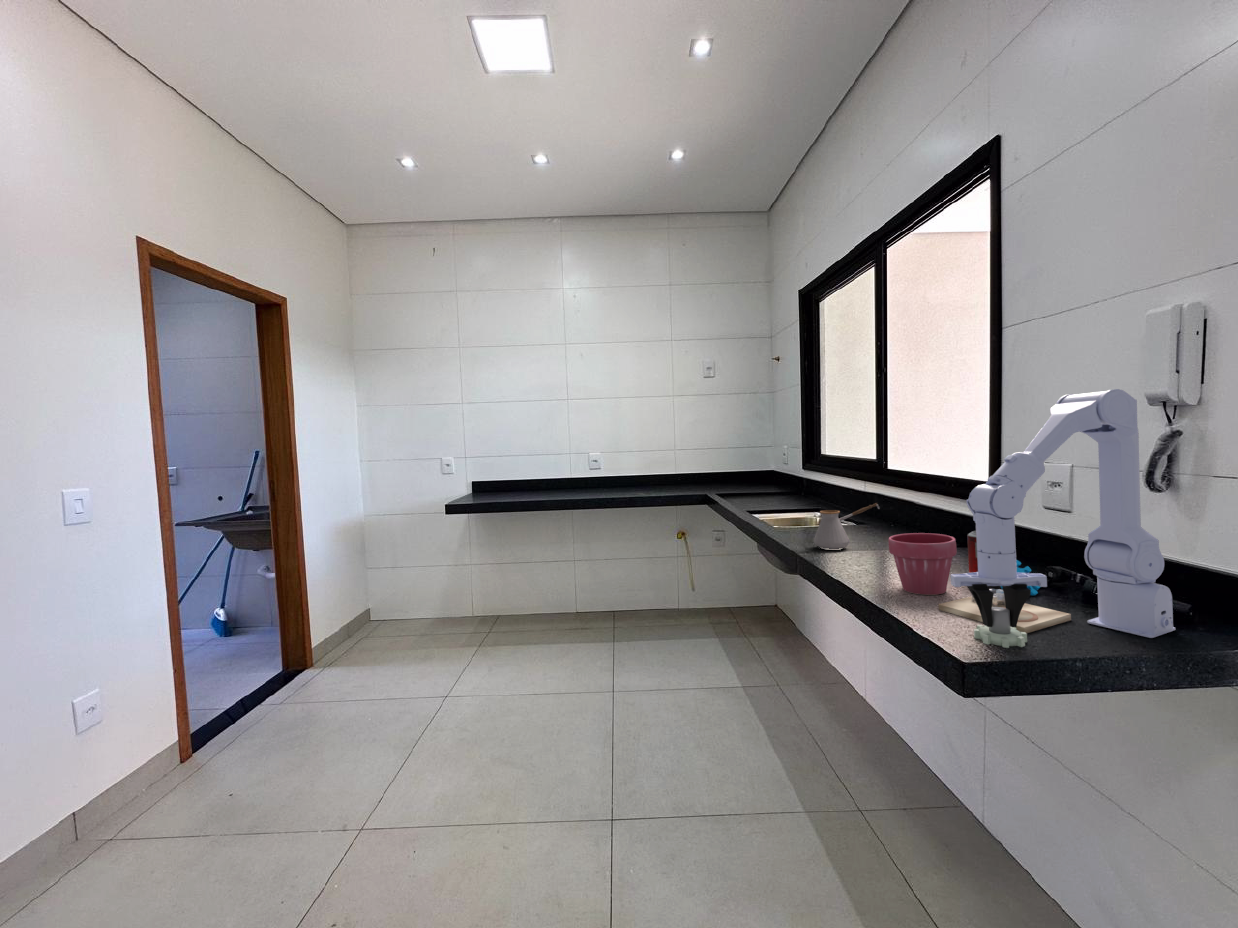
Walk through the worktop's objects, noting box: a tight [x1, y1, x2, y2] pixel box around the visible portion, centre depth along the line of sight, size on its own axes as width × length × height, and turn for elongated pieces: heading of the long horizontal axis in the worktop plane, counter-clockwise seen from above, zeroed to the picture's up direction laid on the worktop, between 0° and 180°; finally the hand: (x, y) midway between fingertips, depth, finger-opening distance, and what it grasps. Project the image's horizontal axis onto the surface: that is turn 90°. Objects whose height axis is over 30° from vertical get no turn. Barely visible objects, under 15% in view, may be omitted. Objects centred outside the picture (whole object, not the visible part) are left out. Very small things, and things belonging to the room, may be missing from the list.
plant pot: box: [888, 532, 958, 596], centre depth 127 cm, size 14×14×13 cm
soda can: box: [966, 530, 978, 573], centre depth 131 cm, size 7×7×12 cm
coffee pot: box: [813, 502, 881, 549], centre depth 178 cm, size 21×12×15 cm, turn 78°
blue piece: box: [1000, 559, 1041, 596], centre depth 122 cm, size 11×6×10 cm
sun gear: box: [970, 587, 1006, 607], centre depth 113 cm, size 7×7×3 cm
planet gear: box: [973, 607, 1028, 649], centre depth 95 cm, size 8×8×6 cm
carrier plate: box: [938, 595, 1072, 634], centre depth 108 cm, size 17×14×1 cm
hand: (999, 625), depth 95 cm, fingers closed on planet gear, 3 cm apart
